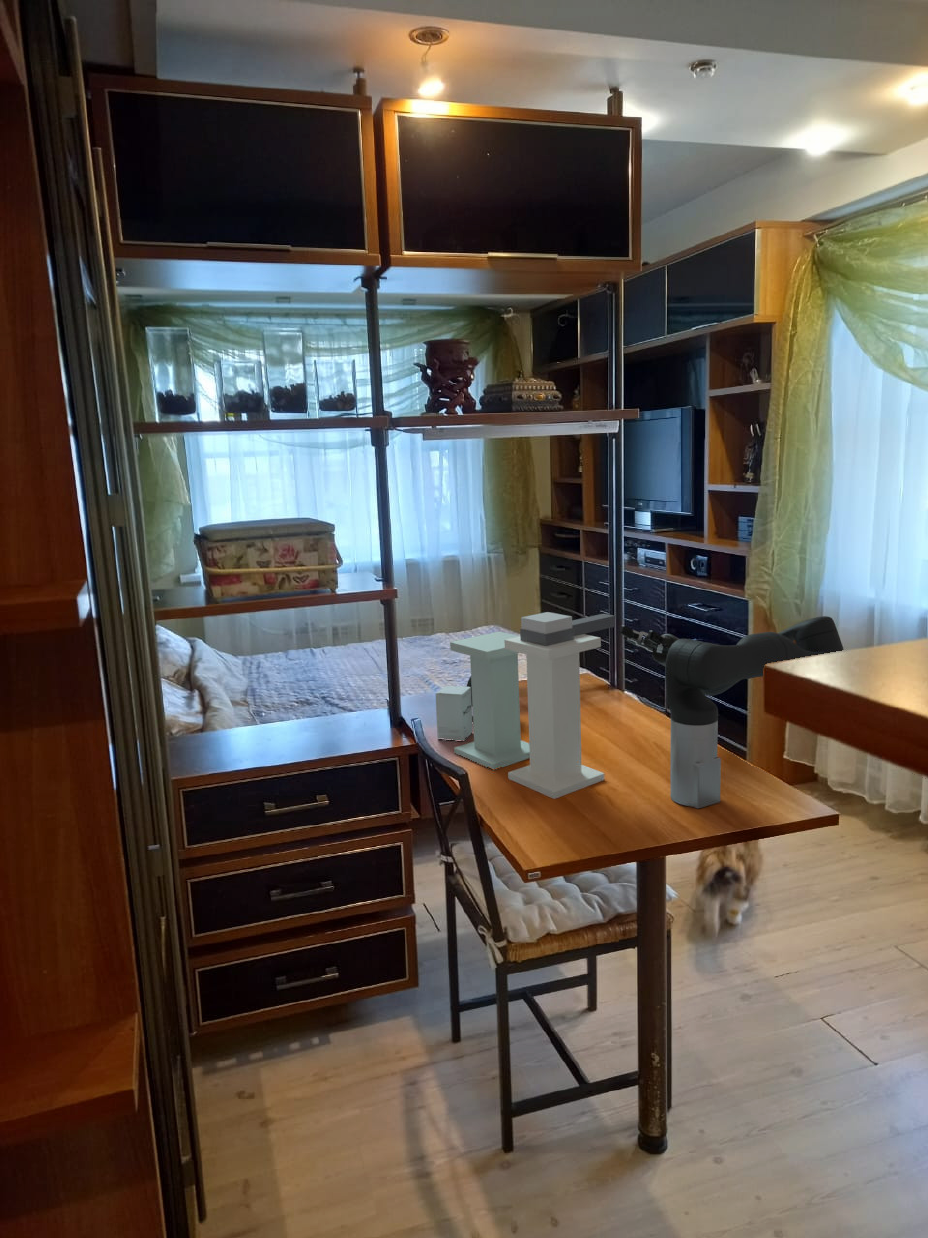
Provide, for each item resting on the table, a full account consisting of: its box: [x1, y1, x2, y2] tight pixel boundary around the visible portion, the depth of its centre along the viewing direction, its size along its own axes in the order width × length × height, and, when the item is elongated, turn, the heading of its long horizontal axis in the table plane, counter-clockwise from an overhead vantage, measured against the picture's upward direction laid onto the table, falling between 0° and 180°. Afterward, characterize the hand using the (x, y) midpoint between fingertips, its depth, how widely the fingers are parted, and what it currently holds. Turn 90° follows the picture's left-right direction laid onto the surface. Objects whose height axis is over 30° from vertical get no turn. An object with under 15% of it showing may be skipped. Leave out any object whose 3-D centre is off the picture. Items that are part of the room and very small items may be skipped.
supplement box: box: [434, 685, 474, 741], centre depth 217 cm, size 7×7×13 cm
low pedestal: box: [449, 631, 530, 770], centre depth 202 cm, size 15×15×28 cm
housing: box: [519, 611, 616, 646], centre depth 184 cm, size 23×8×5 cm, turn 127°
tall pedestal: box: [504, 634, 605, 800], centre depth 184 cm, size 15×15×32 cm
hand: (635, 631), depth 197 cm, fingers open, 8 cm apart
